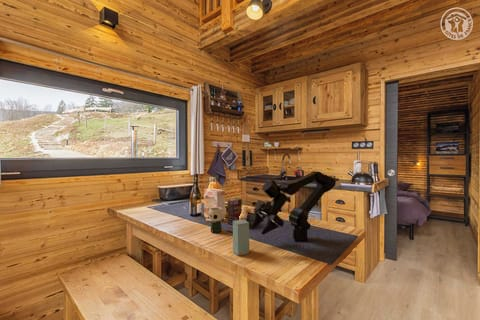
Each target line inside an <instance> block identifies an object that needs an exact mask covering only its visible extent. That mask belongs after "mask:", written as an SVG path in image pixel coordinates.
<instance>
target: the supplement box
mask: <svg viewBox="0 0 480 320" xmlns="http://www.w3.org/2000/svg"><path fill="white" fill-rule="evenodd" d="M242 201H243V199H242V198H240V197H239V198H238V197H236V198H231V199H228V200H227V226H228V227H230V228H233V221H236V220H239V216H240V214H241V212H242V211H243V205H242V204H243V203H242ZM242 213H243V212H242Z"/></svg>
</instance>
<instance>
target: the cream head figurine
mask: <svg viewBox="0 0 480 320" xmlns="http://www.w3.org/2000/svg"><path fill="white" fill-rule="evenodd" d="M208 216H209V218H210V219H209V218H208V219H209V220H210V221H211V223H210V232H211V233H214V234H215V233H220V232H221V231H222V229H223V228H222V223H221V221H223V220H222V219H224V213H222V208H220V207H214V208H210V211H208ZM222 216H223V217H222ZM220 220H221V221H220ZM224 220H225V219H224Z"/></svg>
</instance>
